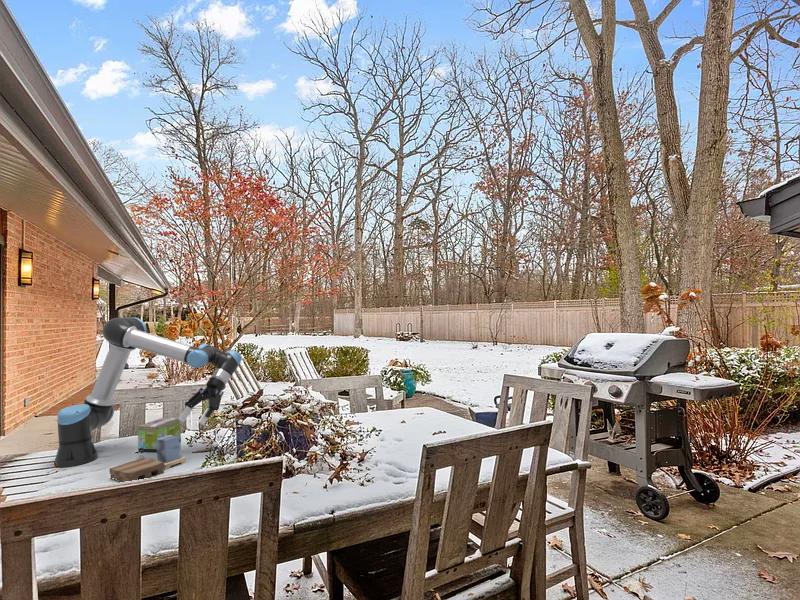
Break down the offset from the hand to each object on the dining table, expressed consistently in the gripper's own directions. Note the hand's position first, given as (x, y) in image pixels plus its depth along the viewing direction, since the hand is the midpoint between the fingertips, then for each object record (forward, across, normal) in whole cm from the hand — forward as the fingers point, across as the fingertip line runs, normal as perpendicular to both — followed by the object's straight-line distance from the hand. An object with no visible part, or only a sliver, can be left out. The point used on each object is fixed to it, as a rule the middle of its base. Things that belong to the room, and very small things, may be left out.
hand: (190, 422), depth 198 cm
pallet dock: (+27, 0, +6) cm, 28 cm away
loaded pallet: (+18, 0, -3) cm, 18 cm away
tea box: (+13, +16, -8) cm, 22 cm away
